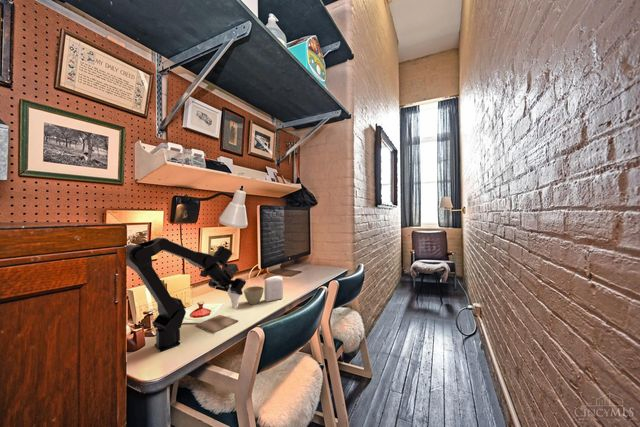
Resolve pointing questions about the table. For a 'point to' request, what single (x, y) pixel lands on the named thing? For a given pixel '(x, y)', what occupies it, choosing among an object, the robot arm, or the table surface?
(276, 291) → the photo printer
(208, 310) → the table surface
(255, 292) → the flower pot
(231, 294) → the lightbulb
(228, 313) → the table surface
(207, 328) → the coaster
